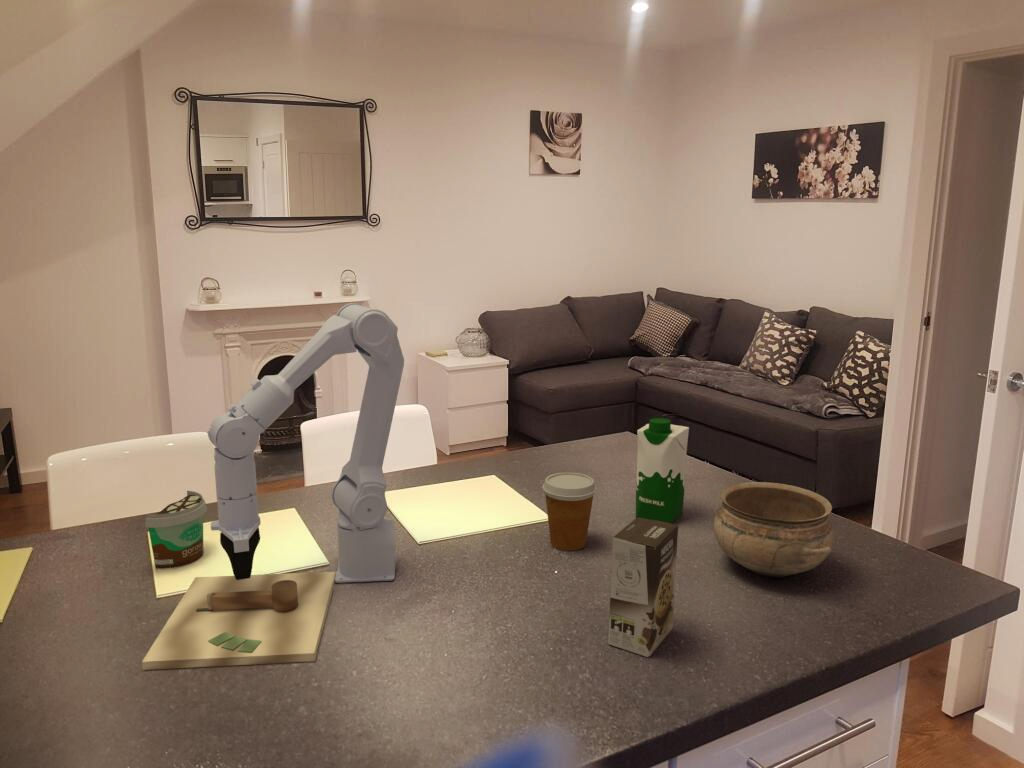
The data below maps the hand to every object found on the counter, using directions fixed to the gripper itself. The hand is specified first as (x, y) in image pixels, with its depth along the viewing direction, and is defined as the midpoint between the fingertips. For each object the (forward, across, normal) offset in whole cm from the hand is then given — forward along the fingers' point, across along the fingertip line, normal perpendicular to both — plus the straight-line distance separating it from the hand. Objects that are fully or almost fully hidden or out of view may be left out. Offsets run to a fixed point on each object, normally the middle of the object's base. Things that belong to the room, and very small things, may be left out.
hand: (243, 577), depth 120 cm
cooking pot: (+4, +19, +83) cm, 85 cm away
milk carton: (+4, -7, +78) cm, 78 cm away
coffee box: (+4, +30, +52) cm, 60 cm away
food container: (+4, -19, -8) cm, 21 cm away
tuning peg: (+2, +5, +1) cm, 6 cm away
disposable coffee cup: (+4, -2, +55) cm, 56 cm away
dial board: (+4, +6, 0) cm, 7 cm away
